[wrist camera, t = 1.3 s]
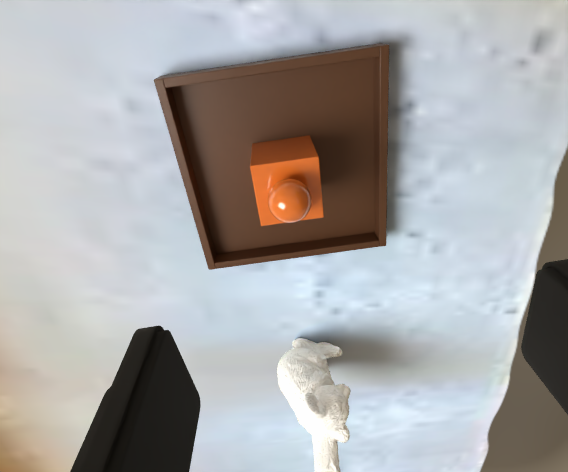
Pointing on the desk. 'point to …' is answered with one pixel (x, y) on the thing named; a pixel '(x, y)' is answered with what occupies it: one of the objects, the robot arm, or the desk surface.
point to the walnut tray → (275, 126)
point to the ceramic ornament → (286, 180)
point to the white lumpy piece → (316, 398)
